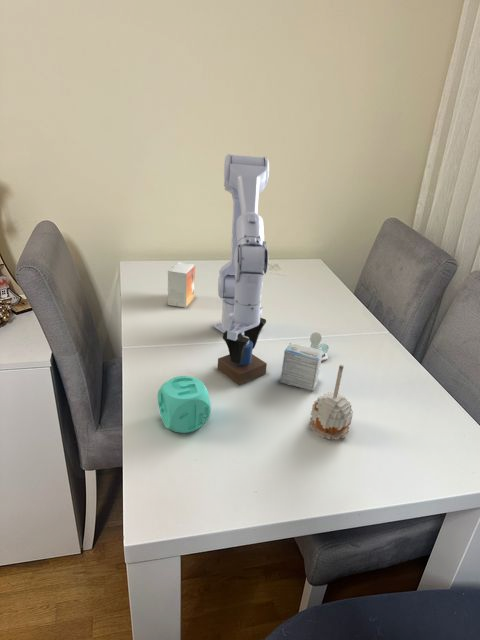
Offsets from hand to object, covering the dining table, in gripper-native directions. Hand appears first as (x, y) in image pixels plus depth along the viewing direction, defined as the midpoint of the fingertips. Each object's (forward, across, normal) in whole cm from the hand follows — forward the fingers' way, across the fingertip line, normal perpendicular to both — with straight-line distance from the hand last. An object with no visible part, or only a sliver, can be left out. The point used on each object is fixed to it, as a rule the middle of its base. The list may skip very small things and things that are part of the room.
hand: (242, 354), depth 111 cm
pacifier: (+5, -16, +13) cm, 21 cm away
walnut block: (+5, 0, 0) cm, 5 cm away
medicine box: (+5, -3, +13) cm, 14 cm away
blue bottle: (+2, 0, 0) cm, 2 cm away
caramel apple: (+5, +10, +24) cm, 26 cm away
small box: (+5, -25, -31) cm, 41 cm away
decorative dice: (+5, +22, -2) cm, 23 cm away
